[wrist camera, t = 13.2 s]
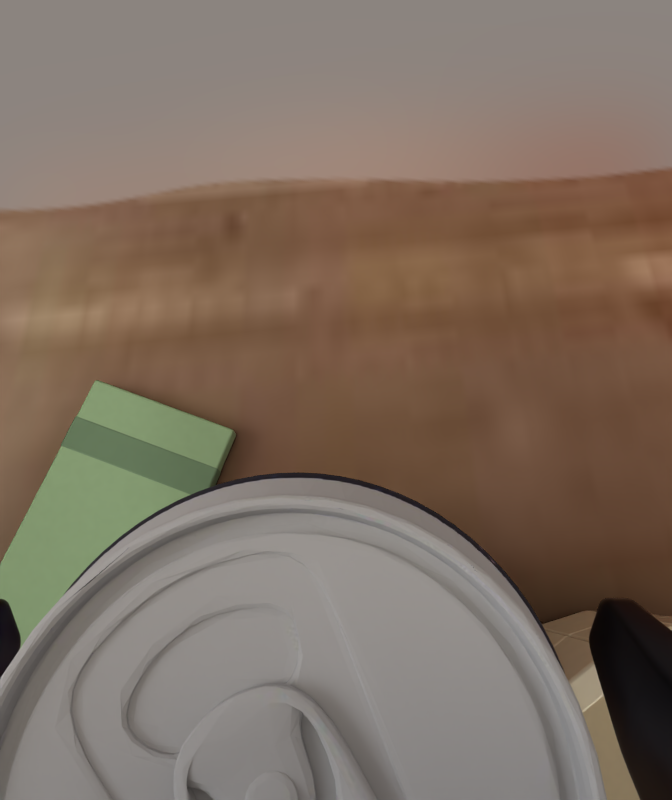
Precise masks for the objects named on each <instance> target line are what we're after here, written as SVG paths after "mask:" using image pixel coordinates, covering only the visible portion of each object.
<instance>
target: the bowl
mask: <svg viewBox="0 0 672 800" xmlns="http://www.w3.org/2000/svg"><path fill="white" fill-rule="evenodd" d="M596 612H597V611H592V610H588V611H582V612H579V613H576V614H573V615H570V616H567V617H564V618H561V619H558V620H554V621H551V622H548V623H545V624H542V625H543V627H544V629H545V631H546V633H547V635H548V637H549V639H550V641H551V643H552V645H553V647H554V649H555V651H556V653H557V656H558V658H559V660H560V663H561V665H562V667H563V670H564V672H565V675H566V677H567V679H568V681H569V683H570V685H571V687H572V689H573V691H574V693H575V696H576V698H577V700H578V702H579V704H580V707H581V710H582V713H583V716H584V718H585V721H586V724H587V727H588V730H589V732H590V735H591V738H592V741H593V744H594V746H595V749H596V752H597V755H598V760H599V764H600V769H601V774H602V778H603V783H604V788H605V792H606V797H607V800H640V798H639V796H638V794H637V791H636V789H635V786H634V784H633V781H632V779H631V776H630V774H629V771H628V769H627V766H626V764H625V761H624V758H623V756H622V753H621V750H620V747H619V744H618V741H617V738H616V735H615V732H614V728H613V725H612V721H611V718H610V715H609V711H608V708H607V705H606V701H605V698H604V695H603V691H602V688H601V685H600V681H599V678H598V675H597V671H596V668H595V665H594V661H593V658H592V654H591V651H590V646H589V634H590V630H591V627H592V624H593V621H594V618H595V615H596ZM652 615H653V616H654V617H655V618H657V619H658V620H659V621H660V622H662V623H663V624H664V625H665V626H667V627H668V628H669V629H670V630H672V617H670V616H663V615H655V614H652Z"/></svg>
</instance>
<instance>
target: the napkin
mask: <svg viewBox="0 0 672 800" xmlns="http://www.w3.org/2000/svg"><path fill="white" fill-rule="evenodd" d="M235 437H236V434H235V432H234V431H233V430H232V429H230V428H227V427H224V426H222V425H219V424H216V423H214V422H211V421H208V420H205V419H203V418H200V417H197V416H194V415H192V414H189V413H186V412H183V411H181V410H178V409H175V408H172V407H170V406H167V405H164V404H161V403H159V402H156V401H153V400H151V399H148V398H145V397H142V396H140V395H137V394H134V393H131V392H129V391H126V390H123V389H120V388H118V387H115V386H112V385H109V384H107V383H104V382H101V381H99V380H96V381H95V382H94V384H93V386H92V388H91V390H90V392H89V394H88V396H87V398H86V399H85V401H84V403H83V405H82V407H81V409H80V411H79V413H78V415H77V416H76V417H75V419H74V421H73V422H72V424H71V426H70V428H69V430H68V432H67V434H66V436H65V438H64V440H63V442H62V444H61V448H60V450H59V452H58V454H57V455H56V457H55V459H54V461H53V463H52V465H51V467H50V469H49V471H48V473H47V475H46V477H45V479H44V481H43V483H42V484H41V486H40V488H39V490H38V492H37V494H36V496H35V498H34V500H33V502H32V504H31V506H30V508H29V510H28V512H27V513H26V515H25V517H24V519H23V521H22V523H21V525H20V527H19V529H18V531H17V533H16V535H15V537H14V539H13V541H12V542H11V544H10V546H9V548H8V550H7V552H6V554H5V556H4V558H3V560H2V562H1V564H0V599H5V600H6V601H7V602H8V603H9V605H10V607H11V610H12V613H13V616H14V618H15V621H16V624H17V627H18V630H19V632H20V636H21V646H20V648H21V647H22V645H23V644H24V642H25V641H26V639H27V638H28V637H29V635H30V634H31V632H32V631H33V629H34V628H35V627H36V626H37V625H38V623H39V622H40V621H41V620H42V619H43V618H44V616H45V615H46V614H47V613H48V612H49V611H50V610H51V609H52V607H53V606H54V605H55V604H56V603H57V602H58V601H59V600H60V598H61V597H62V596H63V595H64V594H65V592H66V591H67V590H68V588H69V587H70V586H71V585H72V583H73V582H74V581H75V580H76V579H77V578H78V577H79V576H80V574H81V573H82V572H83V571H84V570H85V569H86V568H87V567H88V566H89V565H90V564H91V563H92V562H93V561H94V560H95V559H96V558H97V557H98V556H99V555H100V554H101V553H102V552H103V551H104V550H105V549H106V548H108V547H109V546H110V545H111V544H112V543H113V542H115V541H116V540H117V539H118V538H119V537H120V536H122V535H123V534H124V533H126V532H127V531H129V530H130V529H131V528H133V527H134V526H135V525H137V524H138V523H139V522H141V521H143V520H144V519H146V518H147V517H149V516H151V515H152V514H154V513H155V512H157V511H159V510H160V509H162V508H164V507H166V506H168V505H170V504H172V503H174V502H176V501H177V500H180V499H182V498H184V497H187V496H189V495H191V494H193V493H196V492H198V491H201V490H204V489H207V488H209V487H212V486H215V485H216V483H217V480H218V478H219V476H220V473H221V469H222V467H223V465H224V462H225V460H226V458H227V455H228V453H229V451H230V448H231V446H232V444H233V441H234V439H235Z"/></svg>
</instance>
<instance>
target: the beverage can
mask: <svg viewBox="0 0 672 800" xmlns="http://www.w3.org/2000/svg"><path fill="white" fill-rule="evenodd" d="M0 800H607V797H606V792H605V788H604V783H603V778H602V774H601V769H600V764H599V760H598V755H597V752H596V749H595V746H594V744H593V741H592V738H591V735H590V732H589V730H588V727H587V724H586V721H585V718H584V716H583V713H582V710H581V707H580V704H579V702H578V700H577V698H576V696H575V693H574V691H573V689H572V687H571V685H570V683H569V681H568V679H567V677H566V675H565V672H564V670H563V667H562V665H561V663H560V660H559V658H558V656H557V653H556V651H555V649H554V647H553V645H552V643H551V641H550V639H549V637H548V635H547V633H546V631H545V629H544V627H543V625H542V624H541V622H540V620H539V619H538V617H537V616H536V614H535V612H534V611H533V609H532V607H531V606H530V604H529V603H528V601H527V600H526V599H525V597H524V596H523V594H522V593H521V592H520V590H519V589H518V587H517V586H516V585H515V584H514V582H513V581H512V580H511V579H510V577H509V576H508V575H507V574H506V573H505V571H504V570H503V569H502V568H501V567H500V566H499V565H498V564H497V563H496V562H495V561H494V559H493V558H492V557H491V556H490V555H489V554H488V553H487V552H486V551H485V550H484V549H482V548H481V547H480V546H479V545H478V544H477V543H476V542H475V541H474V540H473V539H471V538H470V537H469V536H468V535H467V534H465V533H464V532H463V531H461V530H460V529H459V528H458V527H456V526H455V525H454V524H452V523H451V522H449V521H448V520H446V519H445V518H443V517H442V516H440V515H439V514H437V513H436V512H434V511H432V510H430V509H429V508H427V507H425V506H423V505H422V504H420V503H418V502H416V501H414V500H412V499H410V498H407V497H405V496H403V495H401V494H399V493H396V492H394V491H391V490H388V489H386V488H383V487H380V486H377V485H374V484H370V483H367V482H363V481H360V480H355V479H351V478H346V477H341V476H334V475H326V474H317V473H276V474H267V475H258V476H253V477H247V478H242V479H237V480H233V481H229V482H226V483H222V484H218V485H215V486H212V487H209V488H207V489H204V490H201V491H198V492H196V493H193V494H191V495H189V496H187V497H184V498H182V499H180V500H177V501H176V502H174V503H172V504H170V505H168V506H166V507H164V508H162V509H160V510H159V511H157V512H155V513H154V514H152V515H151V516H149V517H147V518H146V519H144V520H143V521H141V522H139V523H138V524H137V525H135V526H134V527H133V528H131V529H130V530H129V531H127V532H126V533H124V534H123V535H122V536H120V537H119V538H118V539H117V540H116V541H115V542H113V543H112V544H111V545H110V546H109V547H108V548H106V549H105V550H104V551H103V552H102V553H101V554H100V555H99V556H98V557H97V558H96V559H95V560H94V561H93V562H92V563H91V564H90V565H89V566H88V567H87V568H86V569H85V570H84V571H83V572H82V573H81V574H80V576H79V577H78V578H77V579H76V580H75V581H74V582H73V583H72V585H71V586H70V587H69V588H68V590H67V591H66V592H65V594H64V595H63V596H62V597H61V598H60V600H59V601H58V602H57V603H56V604H55V605H54V606H53V607H52V609H51V610H50V611H49V612H48V613H47V614H46V615H45V616H44V618H43V619H42V620H41V621H40V622H39V623H38V625H37V626H36V627H35V628H34V629H33V631H32V632H31V634H30V635H29V637H28V638H27V639H26V641H25V642H24V644H23V645H22V647H21V648H20V650H19V651H18V653H17V654H16V656H15V657H14V659H13V660H12V662H11V663H10V665H9V666H8V668H7V669H6V670H5V672H4V673H3V675H2V676H1V678H0Z"/></svg>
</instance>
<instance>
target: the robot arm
mask: <svg viewBox="0 0 672 800" xmlns="http://www.w3.org/2000/svg"><path fill="white" fill-rule="evenodd" d="M20 646H21V636H20V632H19V630H18V627H17V624H16V621H15V618H14V616H13V613H12V610H11V607H10V605H9V603H8V602H7V601H6V600H5V599H0V678H1V676H2V675H3V673H4V672H5V670H6V669H7V668H8V666H9V665H10V663H11V662H12V660H13V659H14V657H15V656H16V654H17V653H18V651H19V650H20ZM589 646H590V651H591V654H592V658H593V661H594V665H595V668H596V671H597V675H598V678H599V681H600V685H601V688H602V691H603V695H604V698H605V701H606V705H607V708H608V711H609V715H610V718H611V721H612V725H613V728H614V732H615V735H616V738H617V741H618V744H619V747H620V750H621V753H622V756H623V758H624V761H625V764H626V766H627V769H628V771H629V774H630V776H631V779H632V781H633V784H634V786H635V789H636V791H637V794H638V796H639V798H640V800H672V630H670V629H669V628H668V627H667V626H665V625H664V624H663V623H662V622H660V621H659V620H658V619H657V618H655V617H654V616H653V615H652V614H650V613H649V612H648V611H646V610H645V609H644V608H643V607H641V606H640V605H639V604H638V603H636V602H635V601H633V600H631V599H629V598H605V599H603V600H602V601H601V602H600V604H599V606H598V609H597V612H596V615H595V618H594V621H593V624H592V627H591V630H590V634H589Z"/></svg>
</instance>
